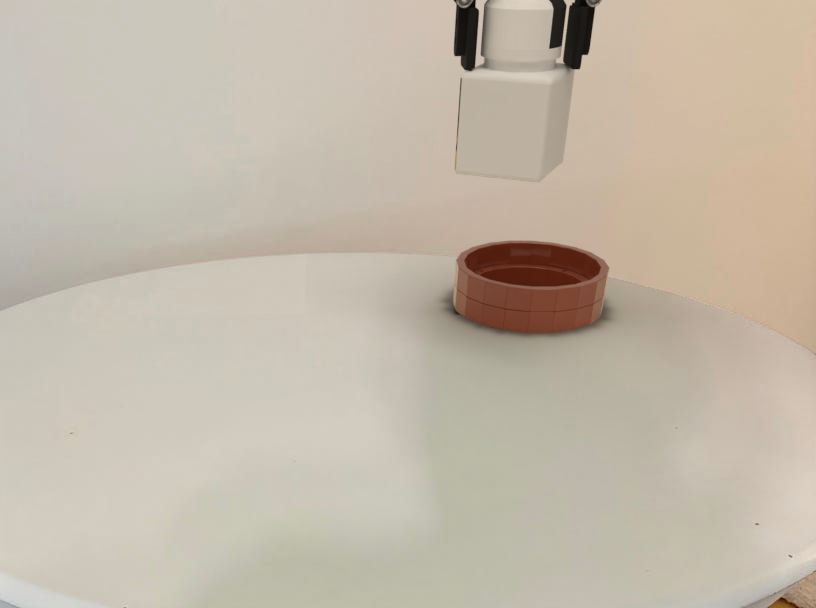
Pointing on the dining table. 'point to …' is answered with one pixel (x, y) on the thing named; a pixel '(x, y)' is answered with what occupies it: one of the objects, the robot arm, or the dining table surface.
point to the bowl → (530, 286)
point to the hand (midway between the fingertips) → (519, 65)
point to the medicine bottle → (516, 94)
